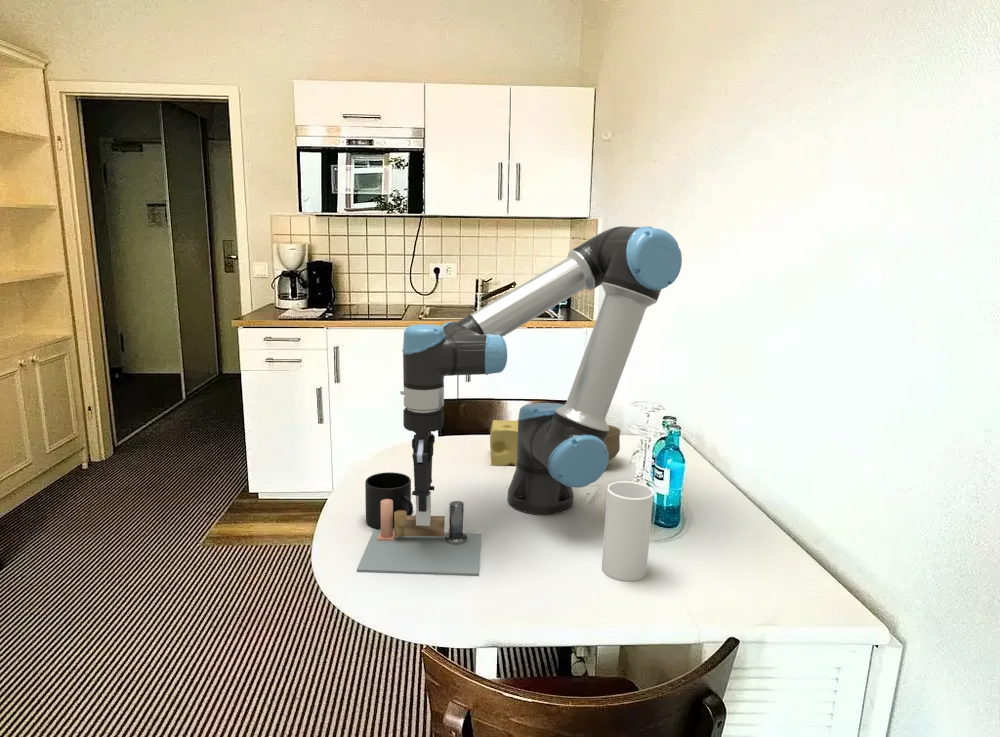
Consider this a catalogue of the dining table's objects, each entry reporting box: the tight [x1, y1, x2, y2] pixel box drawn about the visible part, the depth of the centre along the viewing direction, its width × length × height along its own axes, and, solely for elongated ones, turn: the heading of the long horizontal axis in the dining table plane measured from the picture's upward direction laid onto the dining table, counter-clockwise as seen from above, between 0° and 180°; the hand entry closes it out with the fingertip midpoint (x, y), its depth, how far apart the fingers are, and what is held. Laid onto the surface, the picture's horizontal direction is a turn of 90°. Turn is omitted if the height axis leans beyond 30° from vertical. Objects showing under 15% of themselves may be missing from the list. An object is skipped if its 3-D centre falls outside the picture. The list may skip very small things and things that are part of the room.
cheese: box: [489, 419, 518, 467], centre depth 179 cm, size 10×11×10 cm
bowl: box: [604, 424, 622, 463], centre depth 178 cm, size 13×13×10 cm
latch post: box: [377, 499, 395, 541], centre depth 132 cm, size 3×3×8 cm
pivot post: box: [445, 500, 467, 545], centre depth 132 cm, size 4×4×8 cm
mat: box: [356, 529, 482, 577], centre depth 128 cm, size 22×16×1 cm
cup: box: [601, 480, 654, 582], centre depth 122 cm, size 8×8×16 cm
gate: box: [393, 510, 446, 537], centre depth 132 cm, size 10×2×4 cm, turn 93°
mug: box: [364, 471, 414, 530], centre depth 139 cm, size 9×12×9 cm
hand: (423, 524), depth 130 cm, fingers closed
